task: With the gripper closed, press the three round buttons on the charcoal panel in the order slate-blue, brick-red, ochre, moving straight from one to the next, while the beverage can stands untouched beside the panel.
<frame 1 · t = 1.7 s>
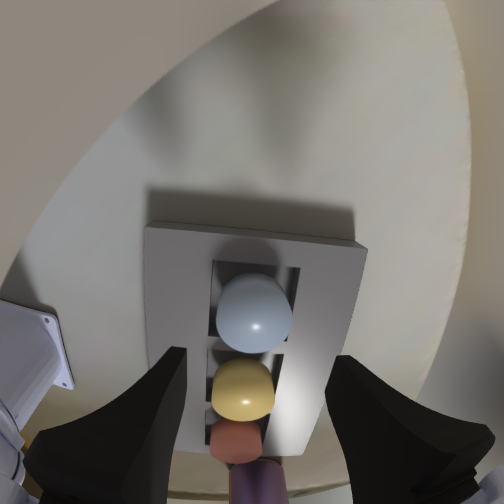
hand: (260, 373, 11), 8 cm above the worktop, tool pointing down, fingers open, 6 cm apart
panel: (241, 363, 20), on the worktop
beverage can: (255, 467, 25), on the worktop
ochre button: (242, 390, 17), point 3 cm above the worktop, slide at 0.0 cm
brick button: (235, 441, 19), point 3 cm above the worktop, slide at 0.0 cm
slate button: (253, 312, 16), point 3 cm above the worktop, slide at 0.0 cm
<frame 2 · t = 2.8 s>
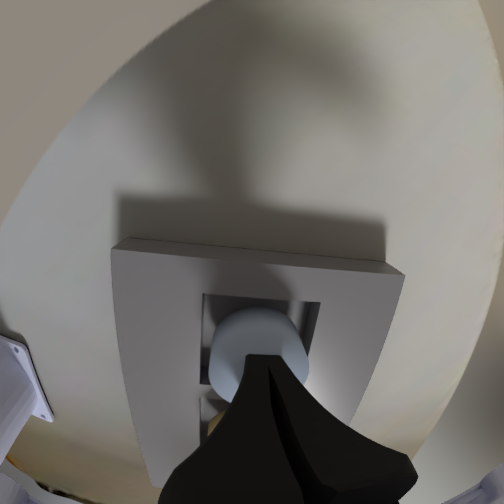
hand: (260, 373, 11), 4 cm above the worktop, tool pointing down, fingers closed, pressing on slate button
panel: (242, 406, 16), on the worktop
ochre button: (244, 443, 13), point 3 cm above the worktop, slide at 0.0 cm
slate button: (257, 358, 12), point 3 cm above the worktop, slide at 0.3 cm, touching gripper
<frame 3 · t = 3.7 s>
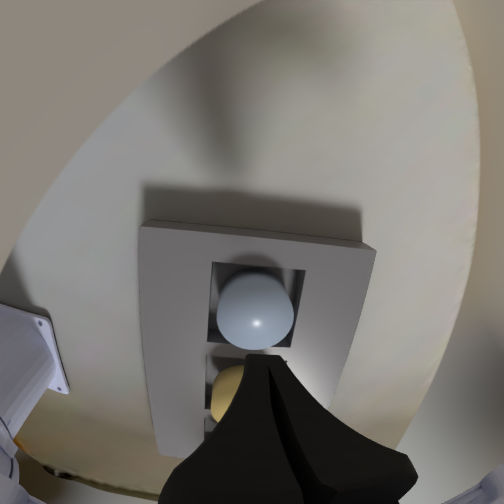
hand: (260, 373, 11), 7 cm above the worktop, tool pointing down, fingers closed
panel: (242, 369, 19), on the worktop
ochre button: (243, 398, 16), point 3 cm above the worktop, slide at 0.0 cm
slate button: (254, 309, 16), point 2 cm above the worktop, slide at 1.0 cm
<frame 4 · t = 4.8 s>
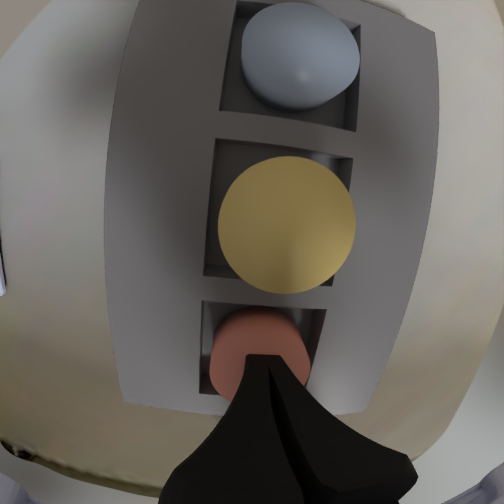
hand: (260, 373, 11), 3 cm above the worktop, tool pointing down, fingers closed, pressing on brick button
panel: (272, 208, 12), on the worktop
ochre button: (283, 221, 9), point 3 cm above the worktop, slide at 0.0 cm
brick button: (258, 358, 12), point 2 cm above the worktop, slide at 1.0 cm, touching gripper
slate button: (297, 57, 8), point 2 cm above the worktop, slide at 1.0 cm
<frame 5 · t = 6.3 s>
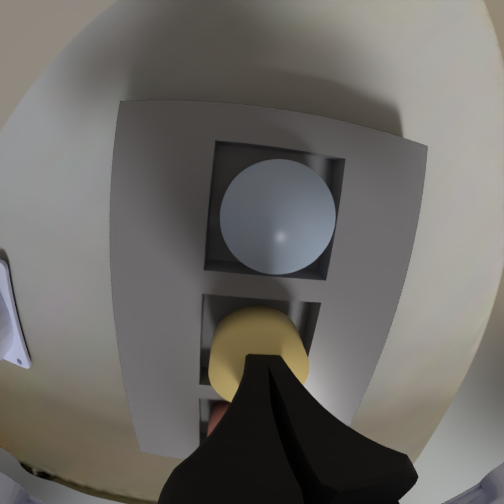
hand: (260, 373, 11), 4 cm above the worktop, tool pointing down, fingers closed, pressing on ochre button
panel: (253, 326, 14), on the worktop
ochre button: (257, 358, 12), point 3 cm above the worktop, slide at 0.4 cm, touching gripper
brick button: (243, 430, 14), point 2 cm above the worktop, slide at 1.0 cm
slate button: (275, 213, 11), point 2 cm above the worktop, slide at 1.0 cm
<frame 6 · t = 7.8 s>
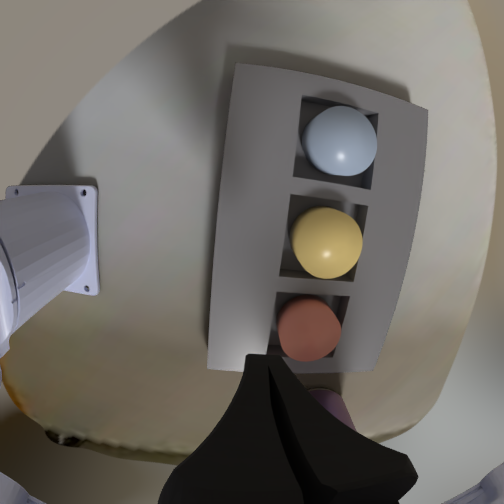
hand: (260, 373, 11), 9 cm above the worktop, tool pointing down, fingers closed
panel: (316, 233, 19), on the worktop
beverage can: (310, 405, 24), on the worktop
ochre button: (325, 241, 17), point 2 cm above the worktop, slide at 1.0 cm
brick button: (307, 328, 19), point 2 cm above the worktop, slide at 1.0 cm
slate button: (338, 141, 15), point 2 cm above the worktop, slide at 1.0 cm
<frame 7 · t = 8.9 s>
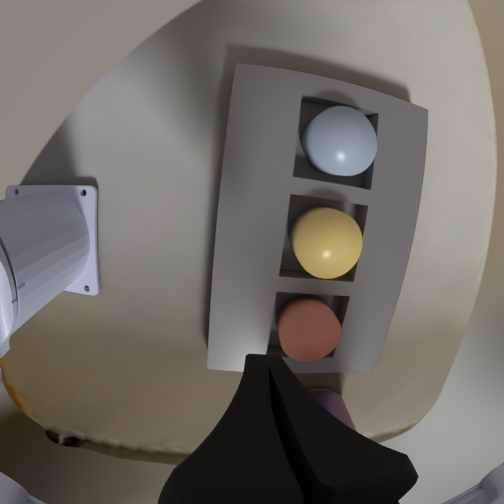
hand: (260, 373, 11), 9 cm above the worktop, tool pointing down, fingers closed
panel: (316, 233, 19), on the worktop
beverage can: (310, 405, 24), on the worktop
ochre button: (325, 241, 17), point 2 cm above the worktop, slide at 1.0 cm
brick button: (307, 328, 19), point 2 cm above the worktop, slide at 1.0 cm
slate button: (338, 141, 15), point 2 cm above the worktop, slide at 1.0 cm
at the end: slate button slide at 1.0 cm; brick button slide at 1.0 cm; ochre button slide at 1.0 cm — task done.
